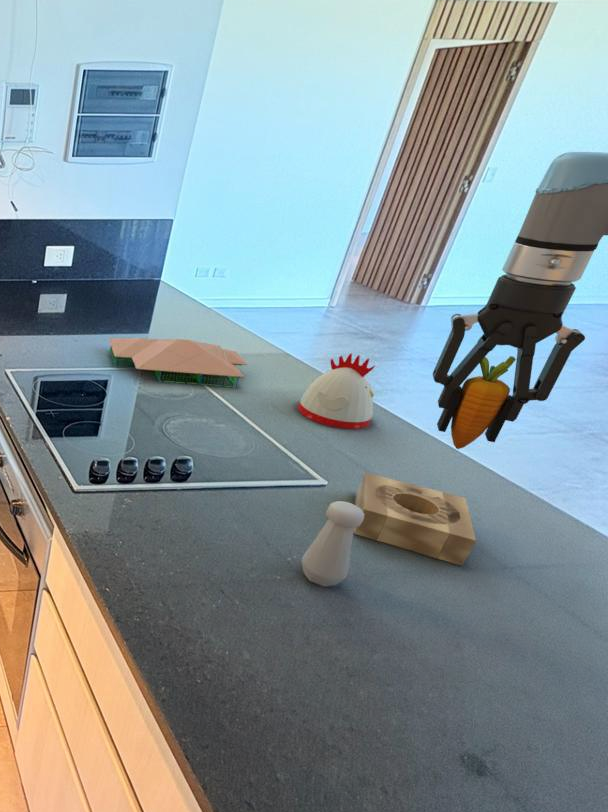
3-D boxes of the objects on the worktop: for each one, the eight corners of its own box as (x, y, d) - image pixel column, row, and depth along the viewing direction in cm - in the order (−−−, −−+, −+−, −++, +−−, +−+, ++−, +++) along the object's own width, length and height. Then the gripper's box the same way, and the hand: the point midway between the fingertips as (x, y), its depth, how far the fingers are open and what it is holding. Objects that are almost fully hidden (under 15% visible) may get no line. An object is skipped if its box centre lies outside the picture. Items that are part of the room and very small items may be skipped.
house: (252, 389, 155) (261, 359, 152) (116, 378, 161) (121, 349, 158) (227, 357, 175) (234, 330, 172) (106, 348, 181) (111, 322, 178)
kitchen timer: (357, 434, 134) (382, 371, 127) (288, 413, 144) (308, 352, 137) (377, 416, 142) (401, 356, 135) (311, 397, 151) (330, 339, 145)
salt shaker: (341, 573, 94) (371, 503, 88) (344, 596, 90) (375, 523, 84) (297, 560, 97) (323, 491, 91) (297, 582, 92) (325, 510, 87)
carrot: (434, 448, 93) (476, 355, 86) (438, 437, 96) (479, 347, 89) (477, 460, 90) (524, 365, 83) (480, 448, 93) (526, 355, 86)
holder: (453, 522, 106) (465, 497, 104) (462, 566, 96) (476, 540, 93) (355, 495, 113) (365, 472, 111) (353, 533, 103) (364, 509, 101)
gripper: (454, 274, 83) (391, 426, 94) (645, 295, 74) (553, 461, 84) (448, 264, 89) (389, 408, 99) (625, 282, 80) (541, 439, 90)
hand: (465, 432), depth 92 cm, fingers closed on carrot, 5 cm apart
